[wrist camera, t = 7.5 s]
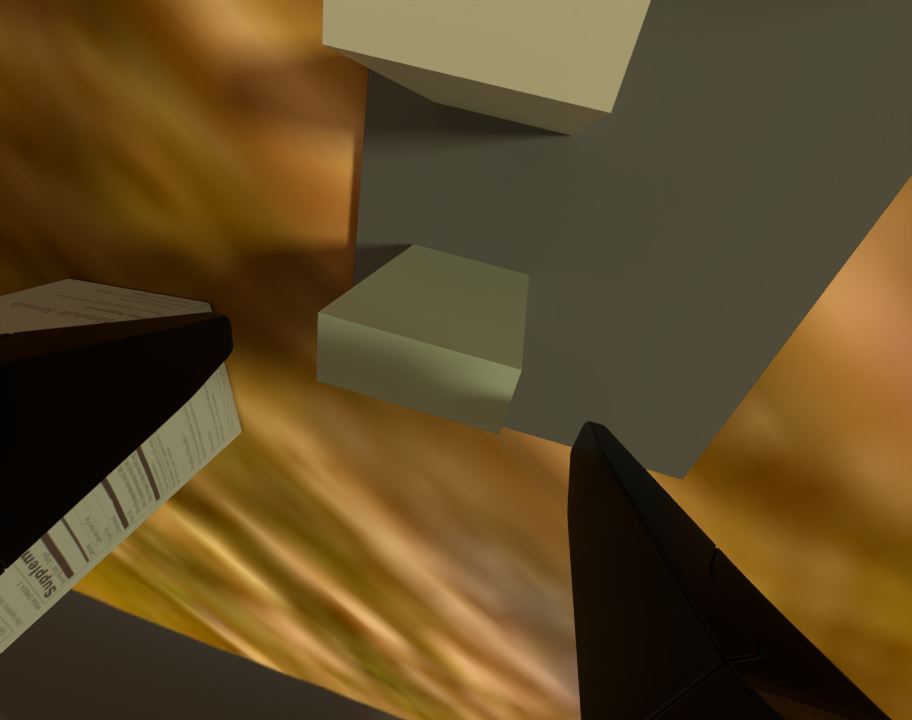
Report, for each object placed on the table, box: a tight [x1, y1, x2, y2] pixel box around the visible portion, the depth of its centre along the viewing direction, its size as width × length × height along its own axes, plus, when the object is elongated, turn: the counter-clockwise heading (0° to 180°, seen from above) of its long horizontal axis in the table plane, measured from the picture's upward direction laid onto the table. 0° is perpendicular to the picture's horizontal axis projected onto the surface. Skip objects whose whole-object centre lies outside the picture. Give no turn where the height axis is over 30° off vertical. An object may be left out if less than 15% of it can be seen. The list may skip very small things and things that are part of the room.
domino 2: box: [316, 244, 529, 434], centre depth 13 cm, size 5×2×8 cm, turn 78°
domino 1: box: [322, 0, 651, 136], centre depth 9 cm, size 5×2×8 cm, turn 78°
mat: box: [353, 0, 912, 479], centre depth 12 cm, size 18×32×1 cm, turn 168°
